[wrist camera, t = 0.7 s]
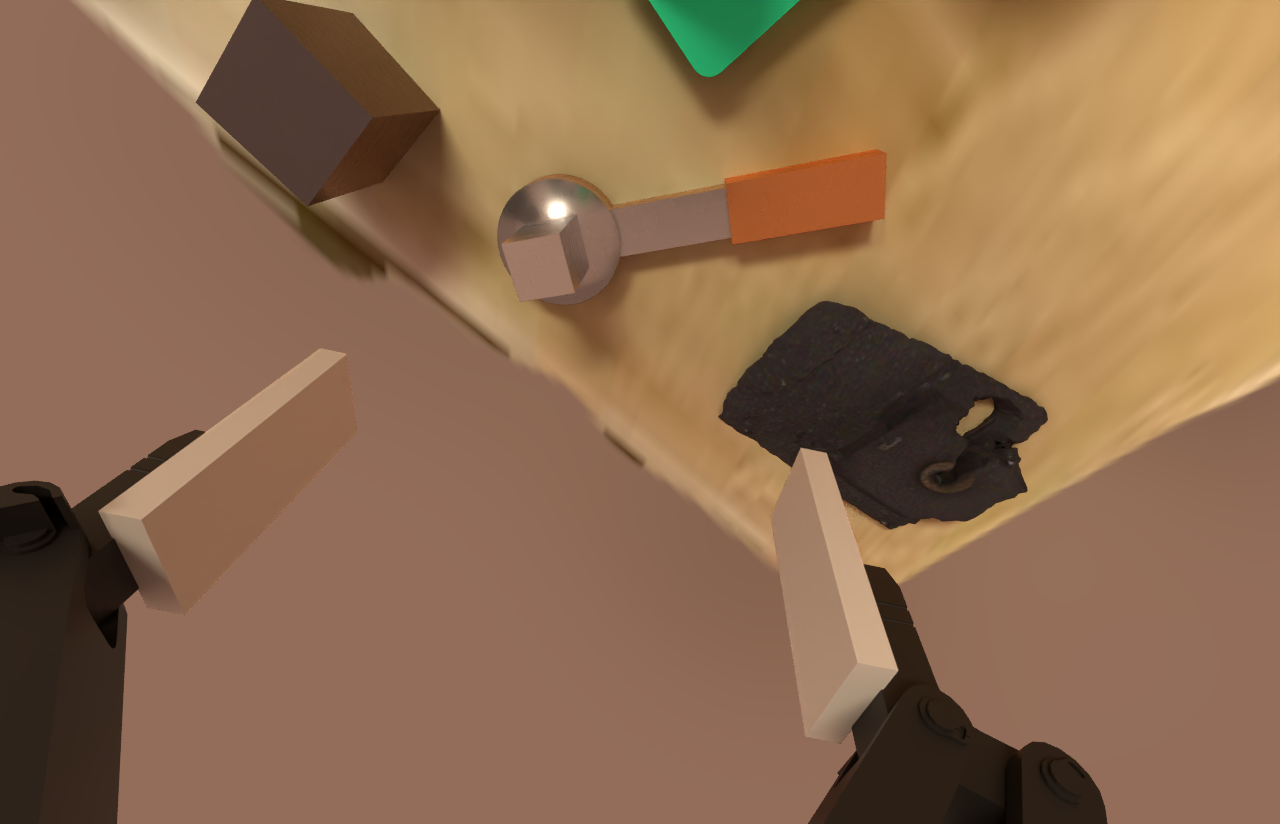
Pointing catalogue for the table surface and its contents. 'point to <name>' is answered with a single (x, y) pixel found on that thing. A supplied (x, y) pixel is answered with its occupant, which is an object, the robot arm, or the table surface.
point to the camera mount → (718, 28)
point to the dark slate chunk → (884, 417)
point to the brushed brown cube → (315, 99)
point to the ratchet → (673, 220)
